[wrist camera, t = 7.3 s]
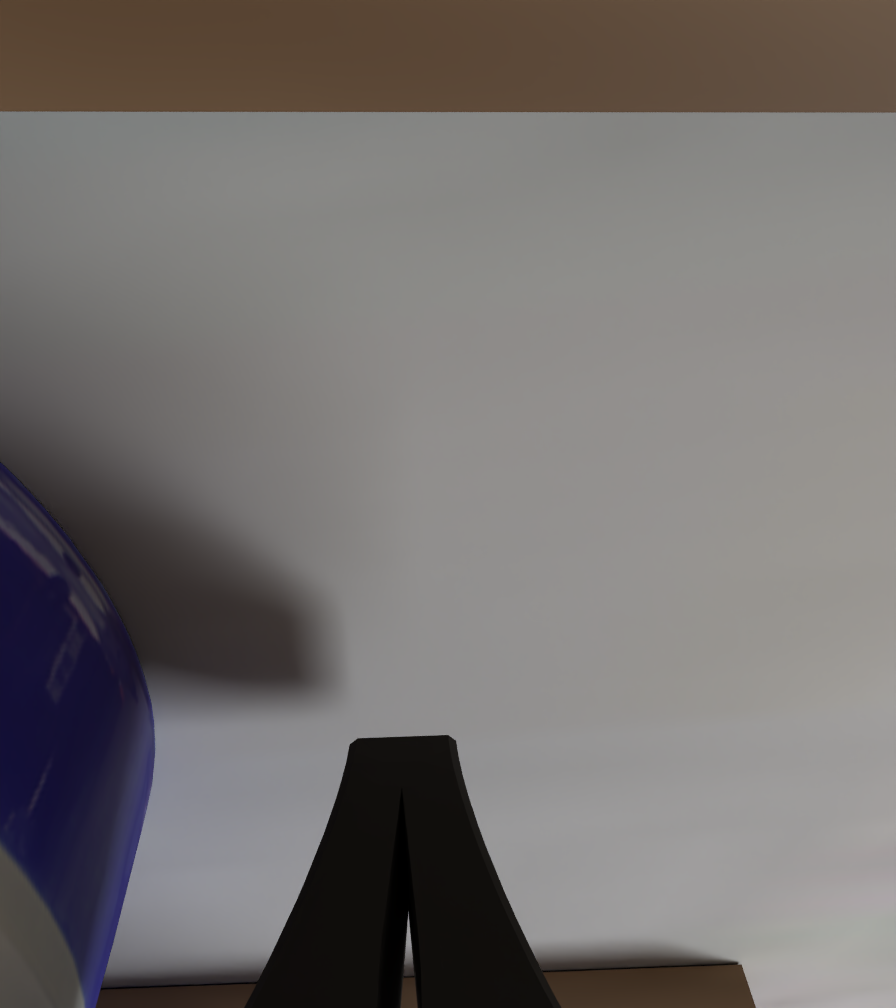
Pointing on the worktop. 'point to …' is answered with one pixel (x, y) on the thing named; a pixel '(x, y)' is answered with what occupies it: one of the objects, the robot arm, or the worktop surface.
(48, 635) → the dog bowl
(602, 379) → the worktop surface
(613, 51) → the wooden tray
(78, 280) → the worktop surface
